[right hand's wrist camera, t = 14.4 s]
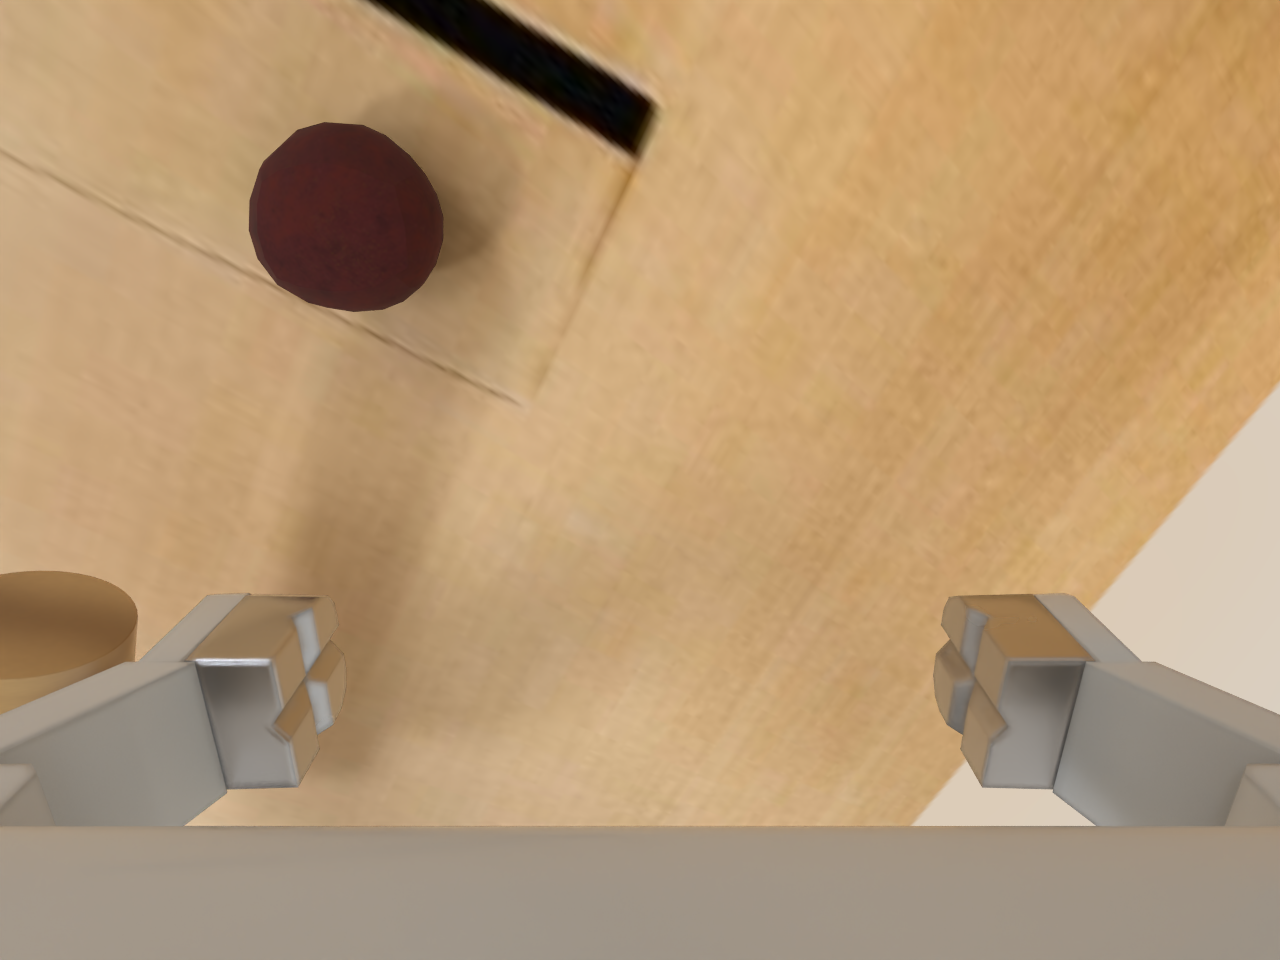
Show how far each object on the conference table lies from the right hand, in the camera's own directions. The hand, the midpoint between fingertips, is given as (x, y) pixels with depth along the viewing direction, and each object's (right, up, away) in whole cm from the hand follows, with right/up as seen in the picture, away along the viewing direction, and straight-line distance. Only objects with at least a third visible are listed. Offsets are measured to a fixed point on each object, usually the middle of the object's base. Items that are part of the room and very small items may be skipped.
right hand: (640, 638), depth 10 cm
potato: (-12, +14, +25) cm, 31 cm away
